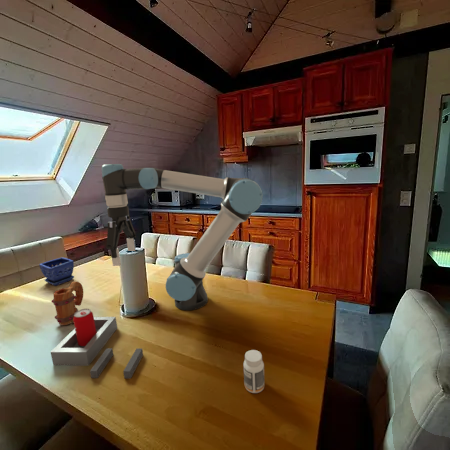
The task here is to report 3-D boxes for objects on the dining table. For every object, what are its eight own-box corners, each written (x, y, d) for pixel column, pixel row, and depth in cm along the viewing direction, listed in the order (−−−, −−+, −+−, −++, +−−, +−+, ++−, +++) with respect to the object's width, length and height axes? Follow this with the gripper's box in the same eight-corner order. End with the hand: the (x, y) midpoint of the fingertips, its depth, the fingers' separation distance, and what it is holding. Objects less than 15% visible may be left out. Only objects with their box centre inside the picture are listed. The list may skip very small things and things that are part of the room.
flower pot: (77, 279, 154) (74, 260, 151) (53, 288, 143) (49, 267, 140) (65, 275, 161) (62, 256, 158) (42, 283, 150) (37, 264, 147)
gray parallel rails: (143, 354, 88) (142, 348, 88) (130, 378, 78) (129, 371, 78) (107, 354, 89) (106, 348, 89) (91, 378, 79) (89, 370, 79)
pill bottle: (262, 377, 77) (262, 347, 75) (266, 393, 71) (265, 362, 69) (243, 378, 77) (242, 348, 74) (245, 395, 71) (244, 363, 69)
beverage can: (92, 334, 99) (87, 305, 96) (100, 341, 95) (95, 311, 92) (75, 343, 94) (69, 313, 91) (82, 350, 90) (76, 319, 88)
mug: (68, 329, 105) (61, 295, 101) (51, 327, 106) (43, 293, 103) (93, 309, 119) (87, 279, 115) (77, 308, 120) (71, 278, 117)
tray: (117, 328, 104) (115, 316, 103) (88, 365, 85) (85, 351, 83) (88, 328, 105) (86, 316, 104) (53, 365, 85) (50, 351, 84)
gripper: (122, 201, 111) (128, 249, 116) (89, 212, 87) (99, 271, 92) (139, 201, 111) (145, 248, 115) (110, 211, 87) (119, 271, 91)
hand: (124, 259), depth 104 cm, fingers open, 13 cm apart
